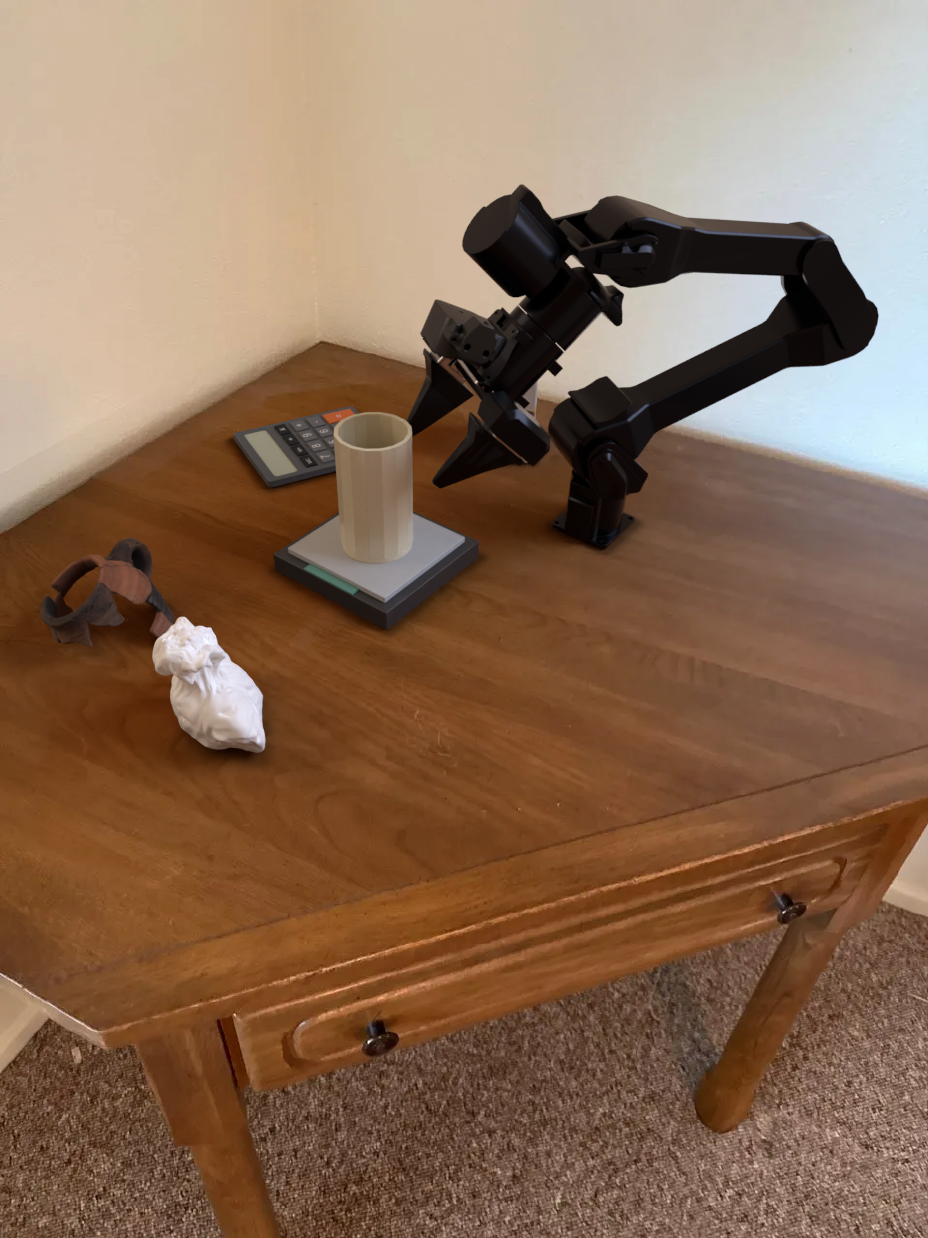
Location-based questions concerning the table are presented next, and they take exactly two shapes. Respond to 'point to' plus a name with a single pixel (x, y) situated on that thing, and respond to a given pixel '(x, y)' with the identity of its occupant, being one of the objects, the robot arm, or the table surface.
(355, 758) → the table surface
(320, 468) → the calculator
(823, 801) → the table surface
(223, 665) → the white tied bag
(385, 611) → the scale
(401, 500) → the cup
